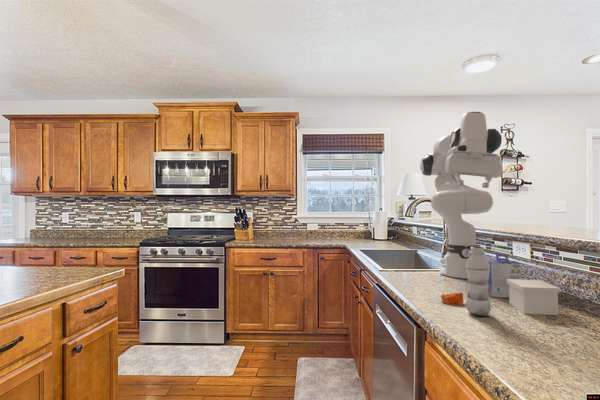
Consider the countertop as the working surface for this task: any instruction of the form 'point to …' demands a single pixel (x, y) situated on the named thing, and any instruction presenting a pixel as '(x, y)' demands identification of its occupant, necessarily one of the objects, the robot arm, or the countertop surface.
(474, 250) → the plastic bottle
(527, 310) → the white square block
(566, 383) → the countertop surface
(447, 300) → the rock
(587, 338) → the countertop surface
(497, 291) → the ink cartridge box
